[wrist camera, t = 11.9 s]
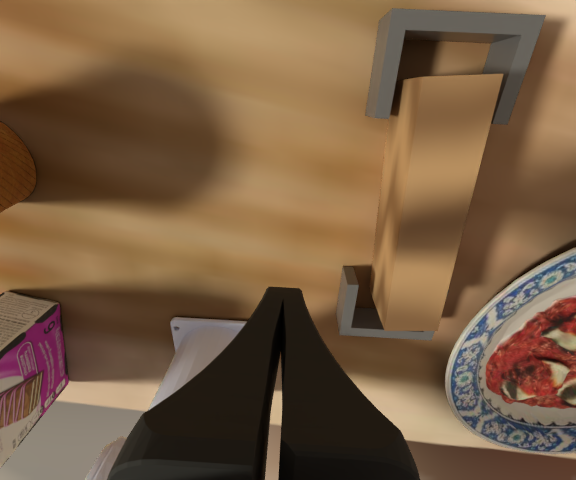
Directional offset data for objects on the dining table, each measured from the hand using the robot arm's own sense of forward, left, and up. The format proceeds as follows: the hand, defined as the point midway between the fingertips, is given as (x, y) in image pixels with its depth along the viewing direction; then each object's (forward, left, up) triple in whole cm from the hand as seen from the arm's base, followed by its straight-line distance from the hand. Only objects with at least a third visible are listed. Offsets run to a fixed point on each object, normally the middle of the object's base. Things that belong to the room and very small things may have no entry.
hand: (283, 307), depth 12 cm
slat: (+1, -8, -11) cm, 13 cm away
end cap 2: (+9, -8, -10) cm, 16 cm away
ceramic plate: (-11, -27, -11) cm, 31 cm away
